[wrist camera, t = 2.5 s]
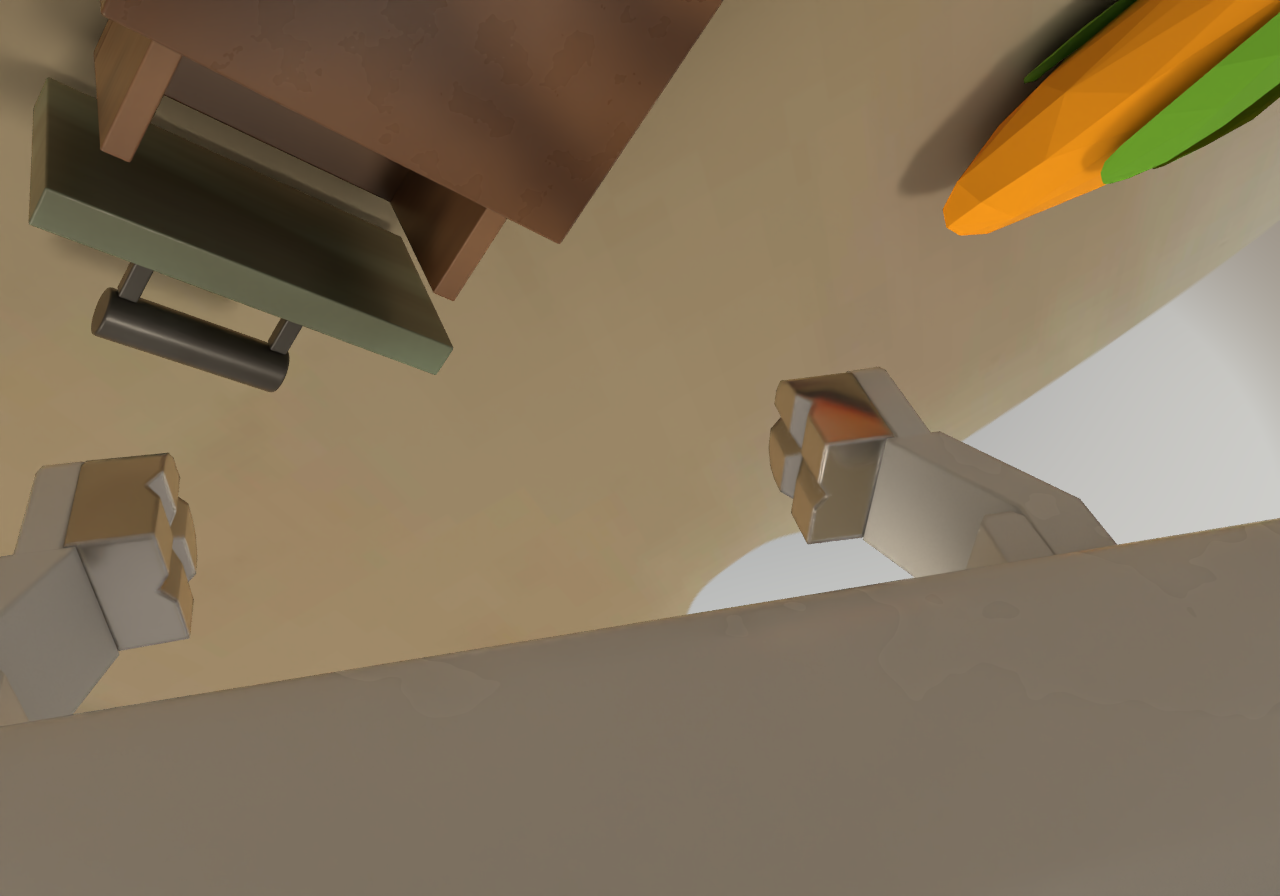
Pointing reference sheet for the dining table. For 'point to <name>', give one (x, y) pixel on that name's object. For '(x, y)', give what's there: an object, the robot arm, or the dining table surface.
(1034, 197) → the corn
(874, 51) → the dining table surface
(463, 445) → the dining table surface
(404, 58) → the cabinet
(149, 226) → the drawer
